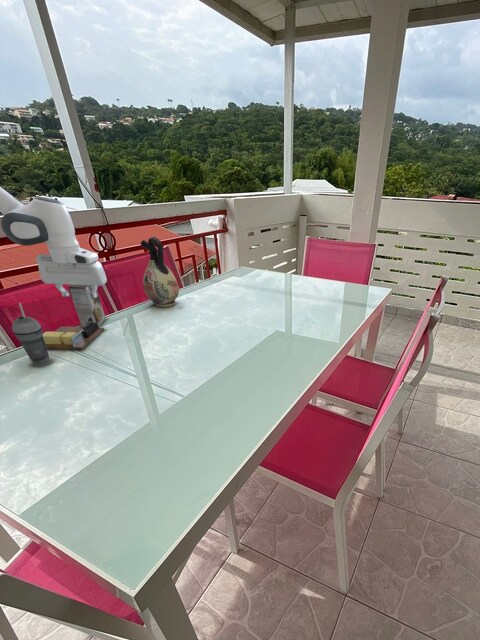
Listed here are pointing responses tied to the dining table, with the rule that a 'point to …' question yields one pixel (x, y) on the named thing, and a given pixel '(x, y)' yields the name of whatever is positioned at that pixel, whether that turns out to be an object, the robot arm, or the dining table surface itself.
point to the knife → (84, 333)
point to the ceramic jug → (159, 276)
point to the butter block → (53, 337)
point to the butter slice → (68, 338)
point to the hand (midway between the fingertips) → (80, 296)
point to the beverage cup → (31, 339)
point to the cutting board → (83, 343)
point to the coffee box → (86, 305)
